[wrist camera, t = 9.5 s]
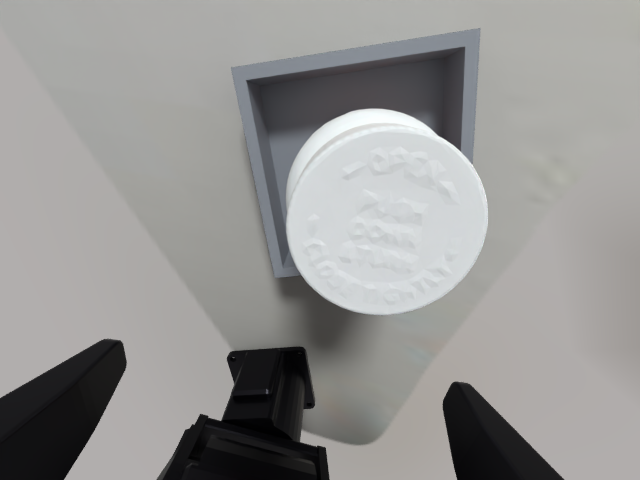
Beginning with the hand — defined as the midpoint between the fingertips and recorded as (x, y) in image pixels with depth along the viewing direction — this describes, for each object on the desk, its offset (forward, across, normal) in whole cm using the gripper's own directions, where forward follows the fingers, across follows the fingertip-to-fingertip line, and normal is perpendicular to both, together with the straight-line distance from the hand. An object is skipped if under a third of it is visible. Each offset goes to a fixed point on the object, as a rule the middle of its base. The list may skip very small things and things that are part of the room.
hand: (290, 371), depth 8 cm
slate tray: (+13, -2, -3) cm, 14 cm away
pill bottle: (+13, -2, -3) cm, 13 cm away
